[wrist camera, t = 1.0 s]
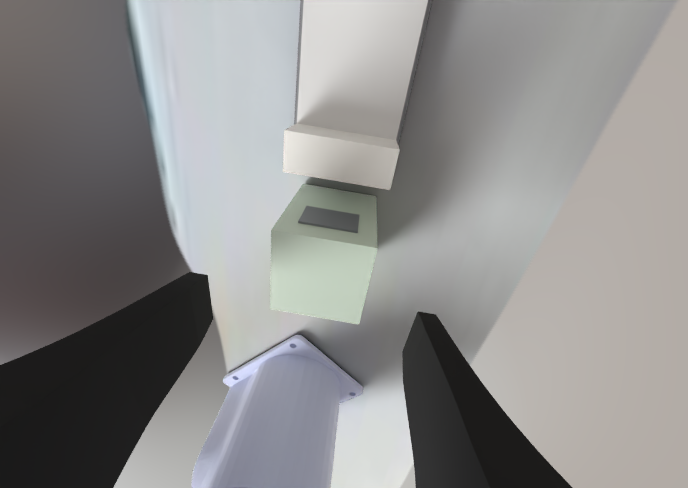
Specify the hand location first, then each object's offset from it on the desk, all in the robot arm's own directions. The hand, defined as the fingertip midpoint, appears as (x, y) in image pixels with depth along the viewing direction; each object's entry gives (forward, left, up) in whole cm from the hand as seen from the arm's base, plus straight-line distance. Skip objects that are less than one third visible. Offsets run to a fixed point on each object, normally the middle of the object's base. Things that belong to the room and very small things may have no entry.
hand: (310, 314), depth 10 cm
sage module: (0, 0, -7) cm, 7 cm away
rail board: (+6, +5, -7) cm, 11 cm away
